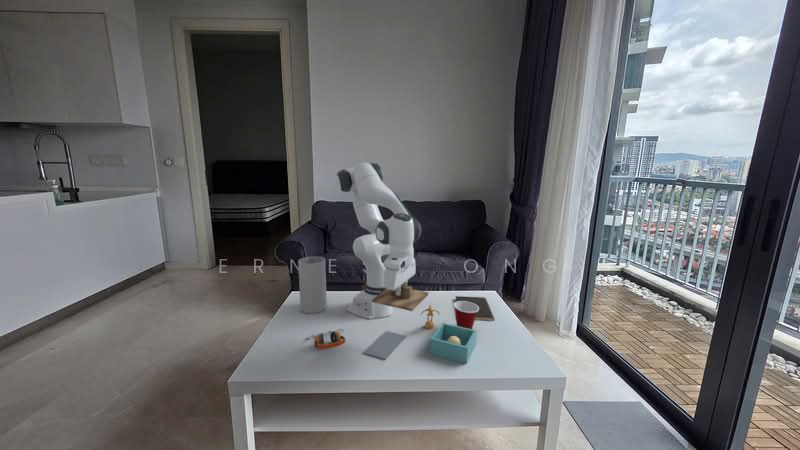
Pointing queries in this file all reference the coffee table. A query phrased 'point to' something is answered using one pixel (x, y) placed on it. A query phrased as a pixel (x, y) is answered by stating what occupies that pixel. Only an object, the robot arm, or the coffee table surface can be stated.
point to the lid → (401, 298)
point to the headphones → (334, 339)
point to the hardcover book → (483, 306)
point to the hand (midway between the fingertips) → (400, 293)
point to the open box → (453, 350)
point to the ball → (454, 340)
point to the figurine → (429, 323)
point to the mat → (384, 345)
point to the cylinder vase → (312, 284)
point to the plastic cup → (465, 313)
